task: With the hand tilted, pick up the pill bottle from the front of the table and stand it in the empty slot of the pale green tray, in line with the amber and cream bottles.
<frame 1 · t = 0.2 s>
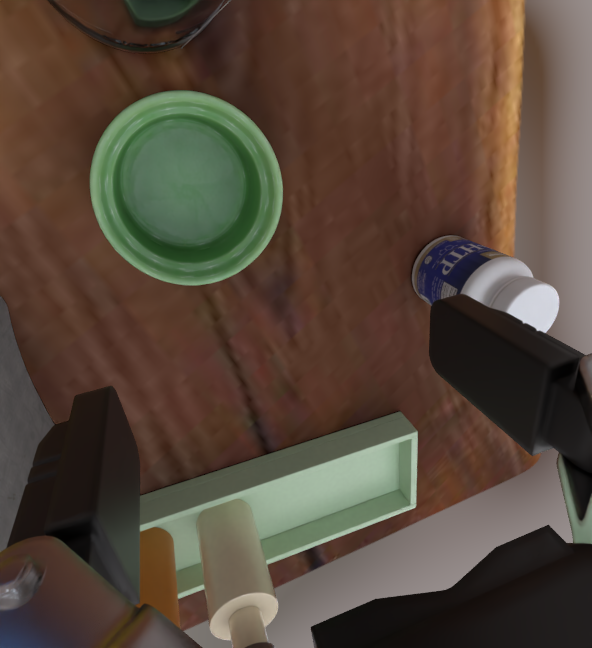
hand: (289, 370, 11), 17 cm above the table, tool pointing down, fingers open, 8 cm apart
ramekin: (184, 183, 24), on the table
hip flask: (17, 402, 27), on the table
pill bottle: (438, 268, 32), on the table
cream bottle: (224, 519, 35), resting on tray
amber bottle: (143, 548, 34), resting on tray
tray: (257, 499, 36), on the table
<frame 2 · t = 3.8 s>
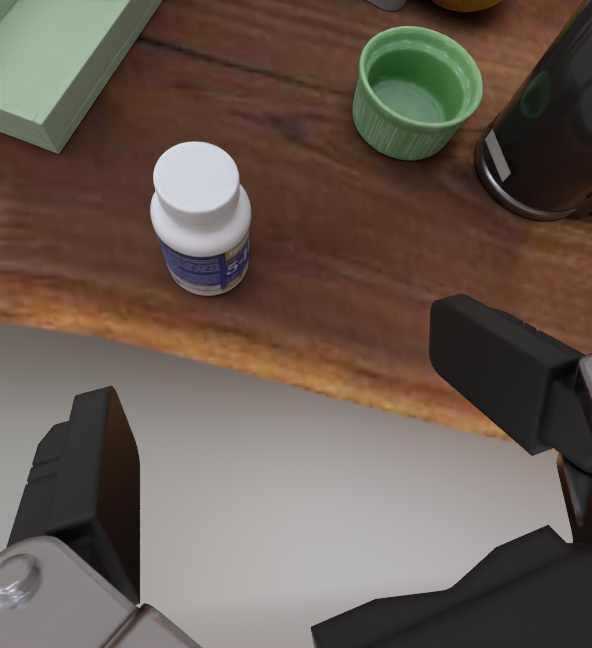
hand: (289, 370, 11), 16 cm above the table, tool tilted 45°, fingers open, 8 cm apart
ramekin: (399, 122, 34), on the table
pill bottle: (209, 261, 29), on the table
tray: (92, 3, 34), on the table
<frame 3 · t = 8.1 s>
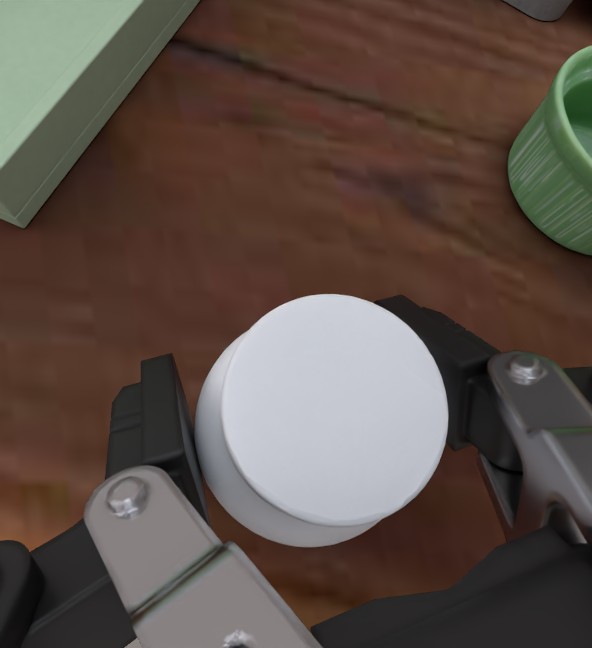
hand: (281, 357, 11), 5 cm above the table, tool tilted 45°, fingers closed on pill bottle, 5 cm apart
ramekin: (575, 191, 22), on the table
pill bottle: (281, 440, 16), on the table, touching gripper
when the fingers open (6 cm above the table, at t = 18.4 s): pill bottle stays where it is, resting on tray.
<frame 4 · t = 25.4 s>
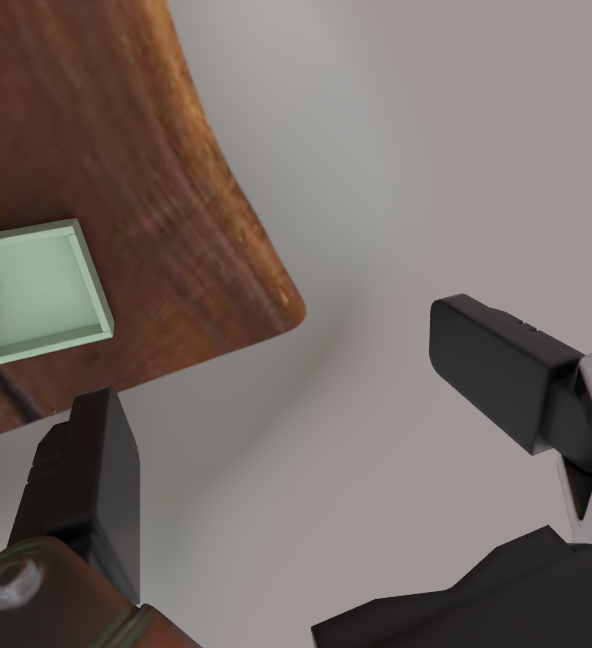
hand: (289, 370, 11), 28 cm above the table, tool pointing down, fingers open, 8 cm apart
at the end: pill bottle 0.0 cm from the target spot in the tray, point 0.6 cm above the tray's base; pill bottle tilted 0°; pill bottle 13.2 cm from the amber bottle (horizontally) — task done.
